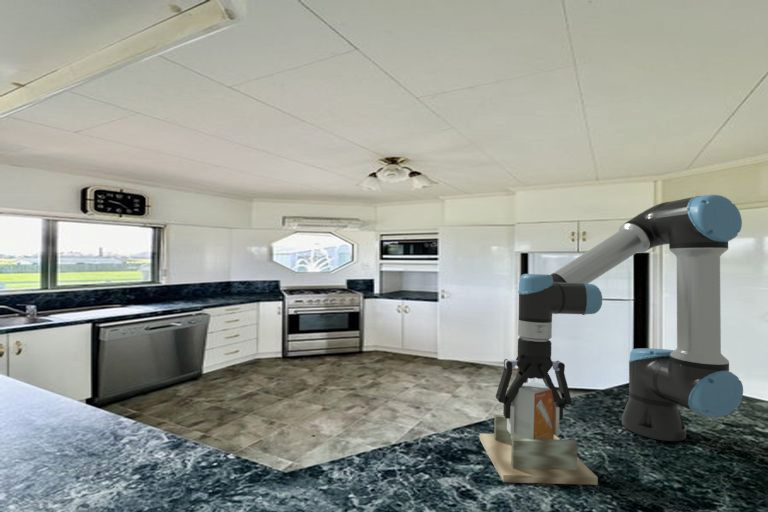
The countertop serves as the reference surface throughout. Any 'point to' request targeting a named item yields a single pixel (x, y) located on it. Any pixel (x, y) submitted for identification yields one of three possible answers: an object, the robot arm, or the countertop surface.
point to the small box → (534, 412)
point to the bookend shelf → (535, 458)
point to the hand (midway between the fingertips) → (532, 432)
